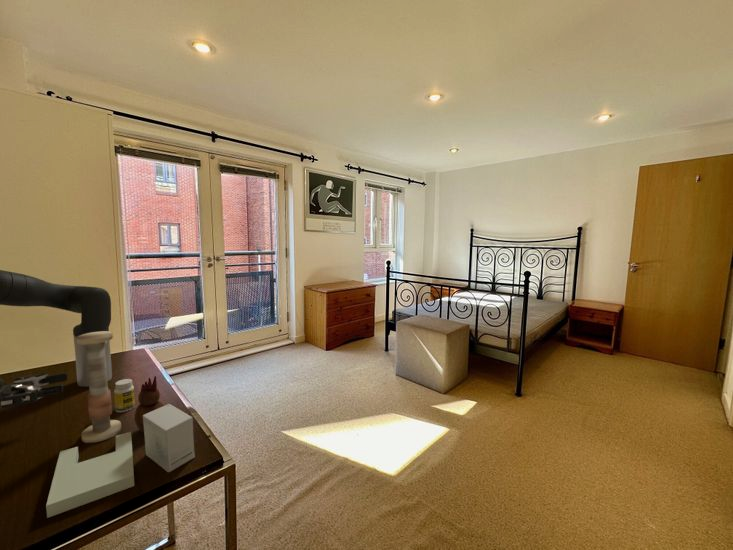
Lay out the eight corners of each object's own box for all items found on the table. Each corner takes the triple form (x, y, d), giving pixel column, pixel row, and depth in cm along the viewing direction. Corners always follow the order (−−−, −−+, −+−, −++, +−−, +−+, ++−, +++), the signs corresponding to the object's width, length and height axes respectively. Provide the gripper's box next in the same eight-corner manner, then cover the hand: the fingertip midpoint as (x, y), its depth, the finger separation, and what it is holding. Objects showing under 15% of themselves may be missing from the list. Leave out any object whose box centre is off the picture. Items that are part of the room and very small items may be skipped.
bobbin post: (83, 430, 84) (74, 333, 81) (121, 420, 89) (115, 328, 86) (80, 447, 78) (71, 342, 74) (121, 435, 83) (114, 337, 79)
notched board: (61, 461, 73) (60, 451, 72) (131, 440, 81) (131, 431, 80) (47, 517, 59) (46, 505, 58) (134, 485, 67) (133, 474, 66)
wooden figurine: (170, 426, 87) (167, 373, 85) (149, 438, 82) (146, 383, 80) (152, 420, 89) (149, 369, 87) (131, 432, 84) (127, 378, 82)
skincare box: (143, 455, 76) (141, 414, 74) (172, 441, 81) (170, 402, 80) (167, 474, 70) (164, 429, 69) (195, 457, 76) (194, 416, 74)
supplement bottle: (124, 413, 92) (122, 386, 91) (110, 411, 93) (108, 384, 92) (139, 405, 97) (137, 379, 96) (126, 403, 98) (124, 377, 97)
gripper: (-42, 395, 70) (60, 378, 80) (-20, 373, 81) (67, 360, 91) (-38, 427, 71) (62, 406, 81) (-17, 401, 82) (69, 385, 92)
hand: (65, 382), depth 86 cm, fingers open, 8 cm apart
